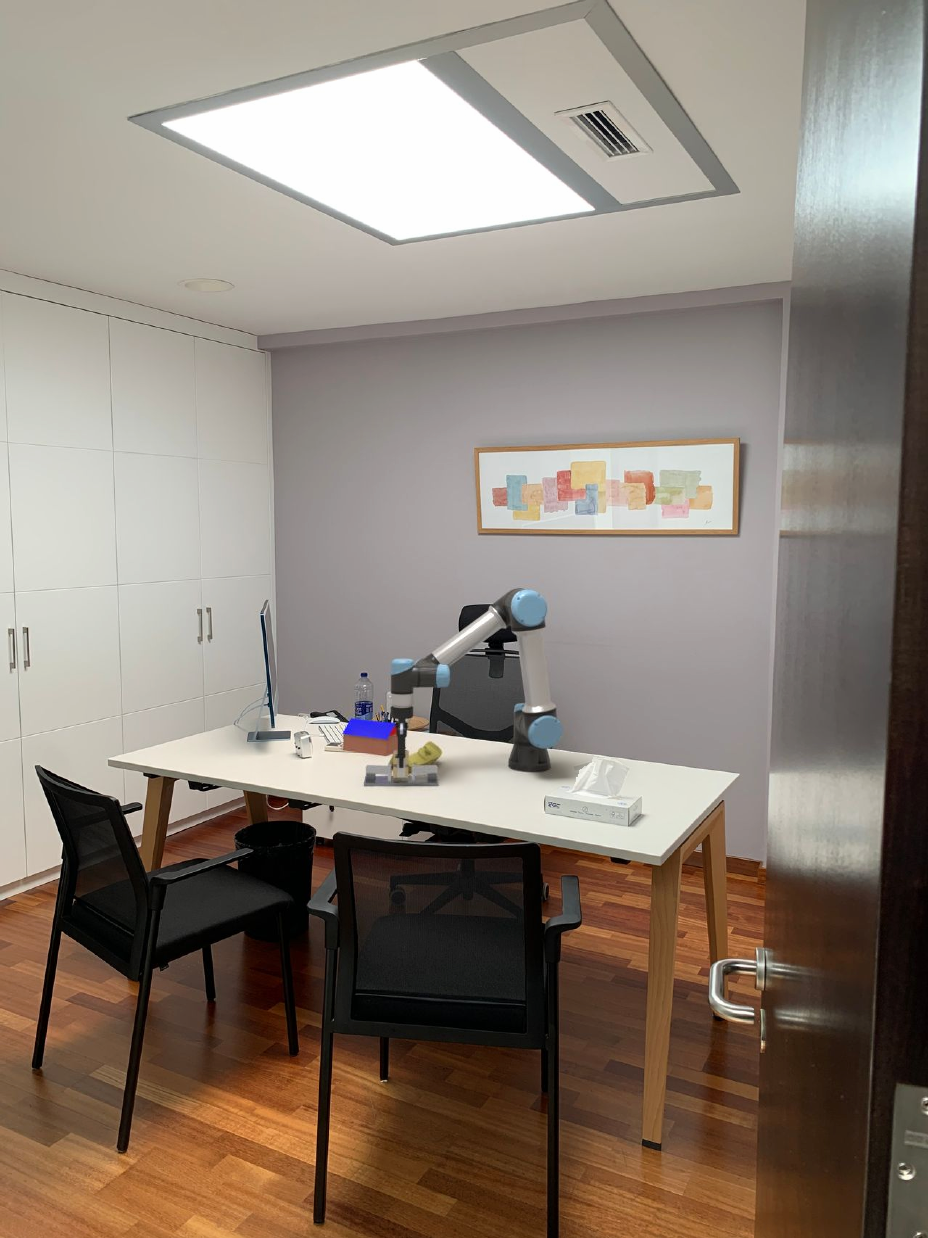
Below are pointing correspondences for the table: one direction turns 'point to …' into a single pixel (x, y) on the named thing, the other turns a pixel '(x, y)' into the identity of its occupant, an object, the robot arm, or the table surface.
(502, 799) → the table surface
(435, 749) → the plastic component
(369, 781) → the shaft bench
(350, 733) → the house
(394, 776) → the banded wooden block
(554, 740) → the robot arm
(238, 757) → the table surface
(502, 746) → the table surface
